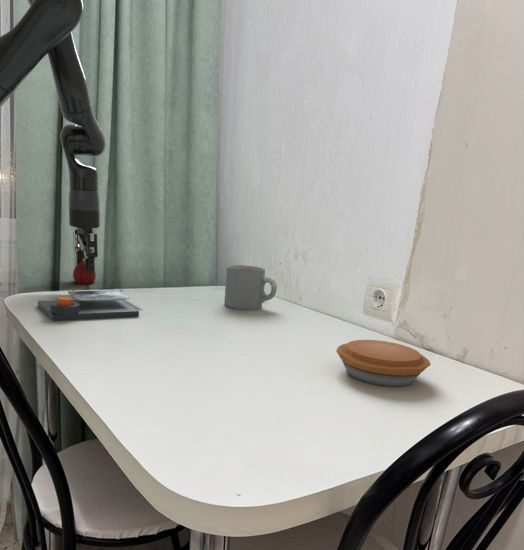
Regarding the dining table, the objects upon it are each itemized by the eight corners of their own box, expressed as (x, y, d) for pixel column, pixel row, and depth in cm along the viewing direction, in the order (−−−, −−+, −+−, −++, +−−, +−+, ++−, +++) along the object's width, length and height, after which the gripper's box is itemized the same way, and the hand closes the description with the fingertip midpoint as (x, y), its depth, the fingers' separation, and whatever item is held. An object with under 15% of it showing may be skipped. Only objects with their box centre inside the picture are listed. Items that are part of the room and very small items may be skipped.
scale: (53, 322, 101) (52, 307, 100) (37, 306, 112) (37, 293, 111) (139, 317, 111) (139, 304, 110) (117, 304, 122) (117, 291, 121)
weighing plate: (78, 300, 108) (78, 299, 108) (68, 292, 115) (68, 291, 115) (129, 299, 114) (129, 297, 114) (115, 291, 121) (115, 290, 121)
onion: (95, 290, 136) (95, 260, 133) (72, 289, 134) (72, 259, 132) (96, 286, 141) (96, 258, 139) (74, 286, 139) (73, 256, 137)
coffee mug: (217, 305, 131) (219, 266, 129) (235, 300, 140) (238, 264, 137) (263, 313, 126) (266, 273, 123) (279, 308, 135) (283, 270, 132)
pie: (360, 356, 97) (364, 330, 95) (439, 378, 88) (445, 350, 86) (316, 372, 85) (320, 343, 84) (403, 399, 76) (408, 368, 75)
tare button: (59, 307, 102) (59, 299, 102) (56, 304, 104) (55, 297, 104) (73, 306, 104) (73, 299, 103) (70, 304, 106) (70, 296, 106)
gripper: (107, 210, 128) (107, 274, 132) (91, 207, 139) (92, 267, 144) (76, 208, 124) (78, 275, 128) (62, 206, 135) (64, 267, 139)
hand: (85, 270), depth 136 cm, fingers open, 8 cm apart
